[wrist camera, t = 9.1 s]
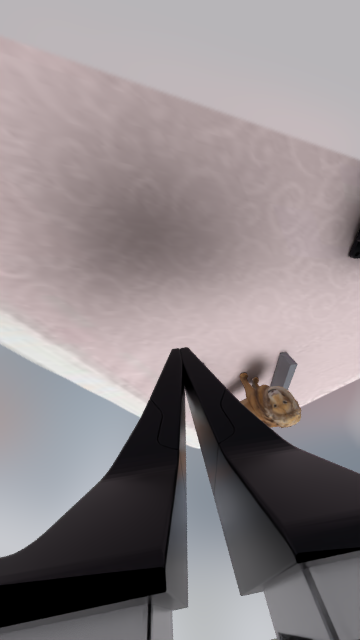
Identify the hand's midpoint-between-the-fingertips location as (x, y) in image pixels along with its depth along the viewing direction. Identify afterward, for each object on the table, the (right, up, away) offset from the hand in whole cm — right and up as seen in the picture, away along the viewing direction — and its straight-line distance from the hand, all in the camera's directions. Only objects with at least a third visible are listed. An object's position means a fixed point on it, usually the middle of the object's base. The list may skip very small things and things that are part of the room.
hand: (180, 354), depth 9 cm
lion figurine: (+9, -9, +21) cm, 25 cm away
